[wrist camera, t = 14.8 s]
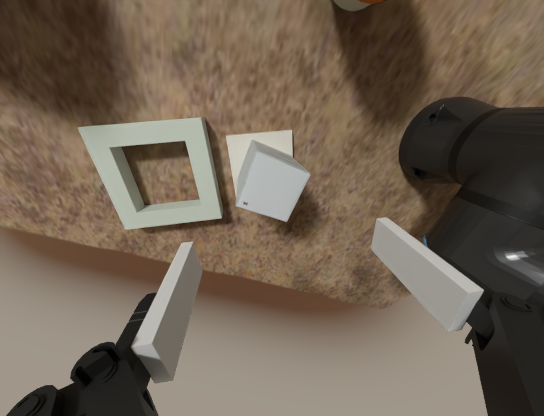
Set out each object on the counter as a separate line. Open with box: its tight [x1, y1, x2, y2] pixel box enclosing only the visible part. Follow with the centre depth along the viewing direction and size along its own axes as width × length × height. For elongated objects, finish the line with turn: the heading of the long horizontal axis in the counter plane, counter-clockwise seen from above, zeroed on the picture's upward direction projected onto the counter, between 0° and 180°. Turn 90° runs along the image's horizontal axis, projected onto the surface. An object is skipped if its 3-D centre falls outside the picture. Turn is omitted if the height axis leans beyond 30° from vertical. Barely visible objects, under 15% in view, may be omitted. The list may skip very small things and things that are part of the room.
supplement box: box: [236, 139, 311, 222], centre depth 30 cm, size 7×7×13 cm
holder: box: [77, 117, 223, 230], centre depth 33 cm, size 17×17×3 cm
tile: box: [226, 130, 293, 196], centre depth 36 cm, size 11×11×1 cm
